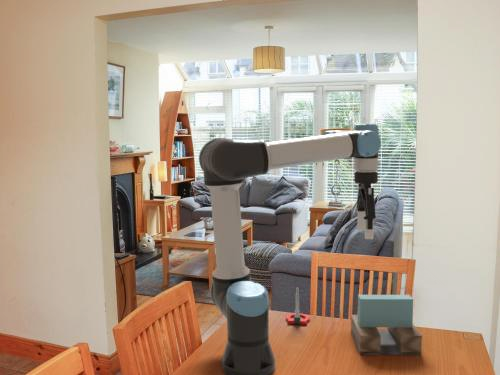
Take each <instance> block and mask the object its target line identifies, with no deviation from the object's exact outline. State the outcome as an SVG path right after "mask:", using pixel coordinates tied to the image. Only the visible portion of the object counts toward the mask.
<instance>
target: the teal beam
mask: <svg viewBox="0 0 500 375" xmlns="http://www.w3.org/2000/svg"><path fill="white" fill-rule="evenodd" d="M413 314H414V299H413V297H412V296H411V295H410V294H357V315H358V324H359V326H360V327H376V328H388V327H412V323H413V318H414V315H413ZM413 324H414V323H413Z"/></svg>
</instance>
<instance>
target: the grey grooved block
mask: <svg viewBox="0 0 500 375" xmlns="http://www.w3.org/2000/svg"><path fill="white" fill-rule="evenodd" d="M350 333H351V336H352V338H353V340H354V343H355V346H356V349H357V350H358V352H359V355H360V356H363V355H364V356H367V355H368V356H369V355H371V356H422V343H423V342H422V340H423V336H422V334H421V332H420V331H419V330H418V328H417V327H416V325H414V323H412V327H387V328H386V329H384V328H382V329H381V328H380V329H379V328H378V327H360V326H359V324H358V314H351V315H350Z"/></svg>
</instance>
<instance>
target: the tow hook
mask: <svg viewBox="0 0 500 375" xmlns="http://www.w3.org/2000/svg"><path fill="white" fill-rule="evenodd" d="M295 290H296V291H295V292H296V293H295V309H294V312H293V313H289V314H286V315H285V320H286V321H287V325H294V326H295V325H297V326H301V325H302V326H308V322H310V320H311V319H310V318H311V317H310V316H309V315H308V314H306V313H300V312H301V311H300V293H299V291H300V290H299V287H296V288H295ZM306 315H307V316H306ZM301 318H303V319H301Z"/></svg>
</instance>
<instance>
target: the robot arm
mask: <svg viewBox="0 0 500 375" xmlns="http://www.w3.org/2000/svg"><path fill="white" fill-rule="evenodd" d="M381 148H382V140H381V137H380V134H379V125H378V124H376V123H357V124H355V125H354V129H353V130H351V129H349V130H347V129H346V130H337V129H335V130H333V129H332V130H325V131H323V133H322V134H321V135H316V136H308V137H301V138H300V137H299V138H292V139H286V140H285V139H284V140H277V141H271V142H270V141H269V142H266V141H264V140H263V139H256V140H255V139H254V140H245V139H244V140H243V139H237V138H236V139H235V138H225V137H217V138H213V139H210V140H209V141H207V142H205V143H204V145H203V146H202V147H201V149H200V152H199V155H198V162H199V166H200V169H201V170H202V172H203V180H204V181H203V182H204V187H205V188H206V189H208V190H209V192H210V202H211V203H210V204H211V217H212V227H213V228H212V229H213V238H214V239H213V240H214V249H215V250H214V252H215V263H216V267H215V269H214V270H213V271H212V274H211V276H212V283H211V284H210V291H209V292H210V297H211V301H212V302H213V305H215V307H216V308H217V309H218V310H219V312H221V314H222V315H223V316H224V317H225V319H226V322H227V323H226V325H227V326H226V327H227V328H226V329H227V332H226V333H227V343H226V344H225V349H224V352H223V355H222V357H221V370H222V373H223V374H225V375H271V374H272V373H274V371H275V370H276V369H275V368H276V358H275V355H274V353H273V350H272V345H271V343H270V340H269V339H270V338H269V336H270V334H269V333H270V332H269V330H270V329H269V328H270V326H269V322H270V321H269V320H270V319H269V315H270V314H269V310H270V309H269V307H270V306H269V305H270V300H269V292H268V290H267V289H266V286H264V285H262V284H260V283H259V282H255V281H252V279H251V278H252V276H251V269H250V268H249V267H247V266H246V263H245V252H244V250H245V249H244V240H243V237H244V236H243V226H242V225H243V223H242V213H241V200H240V196H241V195H240V188H241V186H242V185H243V184H244V179H247V178H253V177H257V176H263V175H267V174H268V173H269V172H270V170H271V171H272V170H277V169H278V170H279V169H283V168H290V167H291V168H292V167H297V166H303V165H309V164H315V163H322V162H323V163H324V162H330V161H337V160H342V159H350V158H351V159H352V158H354V159H353V160H354V164H353V165H354V166H353V169H354V173H353V174H354V178H353V179H354V183H356V184H358V189H357V199H356V206H355V207H356V210H357V220H356V222H357V231H364V240H374V238H375V237H374V236H375V235H374V234H375V219H376V218H377V216H376V205H375V204H376V203H375V188H374V187H372V184H374V185H375V184H377V183H378V181H379V172H378V171H377V170H379V165H378V164H381V163H380V162H381V161H380V160H379V151H380V149H381Z"/></svg>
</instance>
